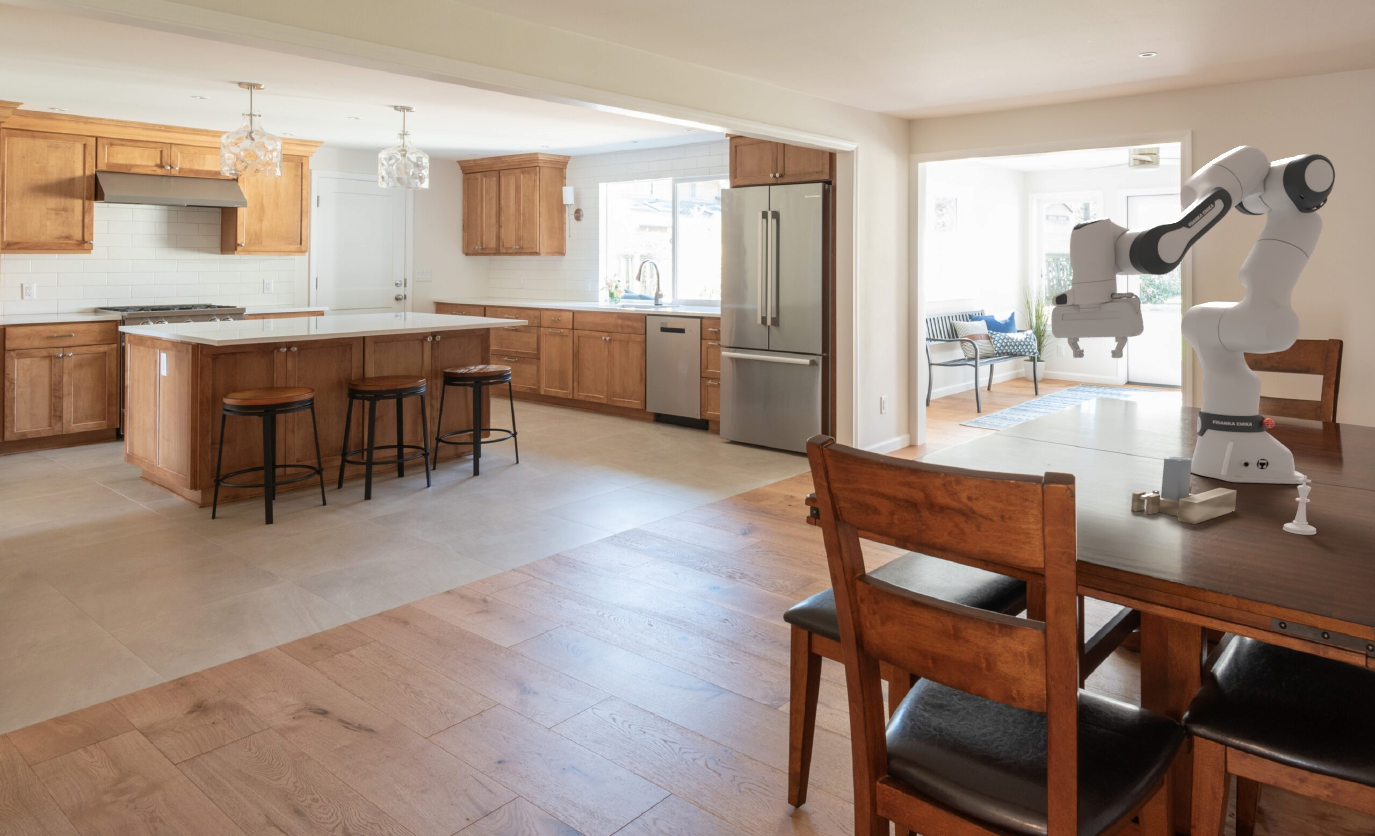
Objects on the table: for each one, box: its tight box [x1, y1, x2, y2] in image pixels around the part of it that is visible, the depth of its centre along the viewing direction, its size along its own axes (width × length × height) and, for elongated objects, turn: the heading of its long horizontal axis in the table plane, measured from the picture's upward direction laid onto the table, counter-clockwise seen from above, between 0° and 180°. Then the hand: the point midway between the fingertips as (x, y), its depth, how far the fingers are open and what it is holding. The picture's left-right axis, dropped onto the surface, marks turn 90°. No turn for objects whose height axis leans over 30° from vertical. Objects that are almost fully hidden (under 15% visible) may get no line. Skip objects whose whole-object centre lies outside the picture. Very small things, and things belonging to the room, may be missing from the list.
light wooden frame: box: [1130, 485, 1238, 525], centre depth 170 cm, size 12×16×4 cm
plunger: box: [1140, 490, 1160, 501], centre depth 170 cm, size 1×6×1 cm, turn 125°
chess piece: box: [1282, 475, 1317, 536], centre depth 155 cm, size 5×5×10 cm
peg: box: [1160, 455, 1192, 501], centre depth 170 cm, size 4×4×10 cm
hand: (1097, 357), depth 193 cm, fingers open, 8 cm apart
